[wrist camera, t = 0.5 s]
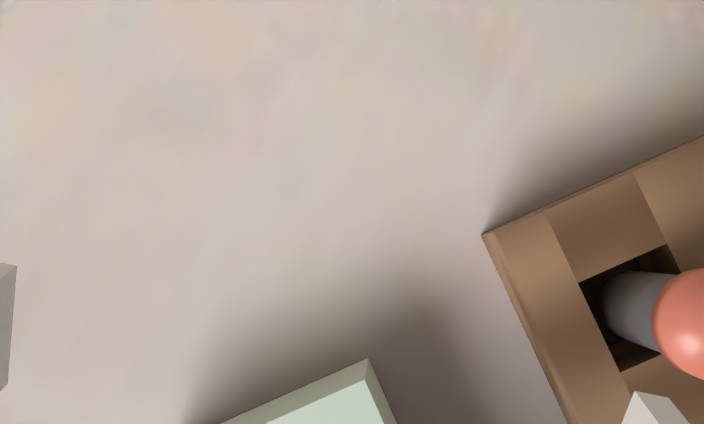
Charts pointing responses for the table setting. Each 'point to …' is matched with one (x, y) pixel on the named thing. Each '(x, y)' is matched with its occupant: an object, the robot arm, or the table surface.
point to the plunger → (659, 314)
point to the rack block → (328, 401)
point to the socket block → (598, 256)
